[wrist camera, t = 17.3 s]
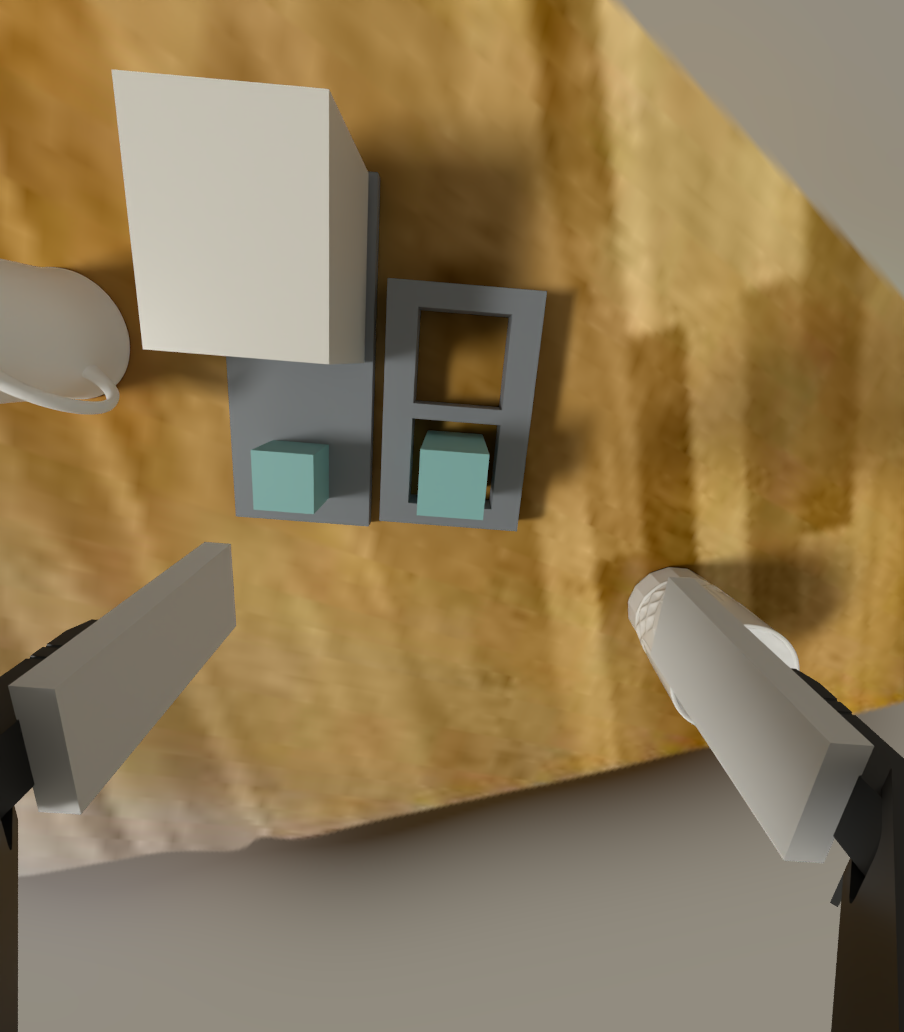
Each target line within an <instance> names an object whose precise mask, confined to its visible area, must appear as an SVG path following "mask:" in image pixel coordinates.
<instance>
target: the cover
mask: <svg viewBox="0 0 904 1032" xmlns="http://www.w3.org/2000/svg"><path fill="white" fill-rule="evenodd" d="M112 77H113V86H114V95H115V104H116V113H117V122H118V131H119V140H120V149H121V158H122V167H123V176H124V185H125V194H126V203H127V212H128V221H129V230H130V239H131V248H132V257H133V266H134V275H135V284H136V292H137V301H138V310H139V319H140V328H141V337H142V346H143V349H146V350H158V351H171V352H183V353H195V354H207V355H220V356H232V357H244V358H256V359H269V360H281V361H293V362H306V363H318V364H353V363H365V317H366V270H367V224H368V177H369V173H368V171H367V169H366V167H365V165H364V162H363V160H362V158H361V156H360V154H359V152H358V150H357V148H356V145H355V143H354V141H353V139H352V137H351V135H350V133H349V131H348V128H347V126H346V124H345V122H344V120H343V118H342V116H341V114H340V111H339V109H338V107H337V105H336V103H335V101H334V99H333V97H332V94H331V92H330V90H329V89H322V88H311V87H300V86H289V85H278V84H267V83H255V82H244V81H233V80H222V79H211V78H200V77H189V76H178V75H167V74H156V73H145V72H134V71H123V70H112Z"/></svg>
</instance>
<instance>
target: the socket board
mask: <svg viewBox="0 0 904 1032" xmlns="http://www.w3.org/2000/svg"><path fill="white" fill-rule="evenodd" d="M546 296H547V291H537V290H526V289H514V288H502V287H490V286H478V285H466V284H454V283H443V282H431V281H419V280H407V279H395V278H388V280H387V309H386V339H385V369H384V398H383V428H382V458H381V488H380V517H379V521H390V522H403V523H416V524H429V525H442V526H455V527H468V528H481V529H494V530H507V531H517V525H518V518H519V510H520V502H521V494H522V486H523V478H524V470H525V462H526V454H527V446H528V438H529V430H530V423H531V415H532V407H533V399H534V391H535V383H536V375H537V367H538V359H539V351H540V343H541V335H542V328H543V320H544V312H545V304H546ZM421 310H424V311H436V312H448V313H460V314H472V315H484V316H496V317H508V318H509V319H508V328H507V338H506V347H505V357H504V366H503V376H502V385H501V395H500V404H499V407H493V406H480V405H468V404H455V403H443V402H430V401H418V400H416V392H417V373H418V354H419V336H420V317H421ZM415 419H428V420H440V421H453V422H466V423H478V424H491V425H497V433H496V442H495V451H494V461H493V470H492V480H491V489H490V499H489V500H485V505H484V515H483V520H473V519H460V518H446V517H433V516H420V515H417V499H418V495H415V494H411V485H412V466H413V447H414V429H415Z"/></svg>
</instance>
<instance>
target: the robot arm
mask: <svg viewBox="0 0 904 1032" xmlns="http://www.w3.org/2000/svg"><path fill="white" fill-rule="evenodd" d="M235 627H236V615H235V601H234V586H233V571H232V557H231V544H224V543H211V542H204V543H203V544H201V545H200V546H199V547H197V548H196V549H195V550H193V551H192V552H190V553H189V554H188V555H186V556H185V557H184V558H182V559H181V560H179V561H178V562H177V563H175V564H174V565H173V566H171V567H170V568H169V569H167V570H166V571H164V572H163V573H162V574H160V575H159V576H158V577H156V578H155V579H153V580H152V581H151V582H149V583H148V584H147V585H145V586H144V587H143V588H141V589H140V590H138V591H137V592H136V593H134V594H133V595H132V596H130V597H129V598H127V599H126V600H125V601H123V602H122V603H121V604H119V605H118V606H117V607H115V608H114V609H112V610H111V611H110V612H108V613H107V614H106V615H104V616H103V617H101V618H100V619H99V620H90V621H87V622H85V623H83V624H80V625H78V626H76V627H74V628H71V629H69V630H67V631H65V632H64V633H62V634H61V635H59V636H58V637H57V638H55V639H54V640H52V641H51V642H49V643H48V644H47V646H46V647H42V648H41V649H39V650H38V651H36V652H35V653H34V654H32V655H31V656H30V659H25V660H24V661H22V662H21V663H19V664H18V665H16V666H15V667H14V668H12V669H11V670H9V671H8V672H6V673H5V674H4V675H2V676H1V677H0V1032H18V818H17V814H16V810H15V806H14V805H15V804H16V803H17V802H18V801H19V800H20V799H21V798H22V797H23V796H24V795H25V794H26V793H27V792H28V791H29V790H30V789H31V788H32V787H33V790H34V794H35V798H36V802H37V806H38V810H39V812H50V813H65V814H82V813H83V811H84V810H85V809H86V808H87V806H88V805H89V804H90V803H91V802H92V800H93V799H94V798H95V797H96V796H97V794H98V793H99V792H100V791H101V789H102V788H103V787H104V786H105V785H106V783H107V782H108V781H109V780H110V778H111V777H112V776H113V775H114V774H115V772H116V771H117V770H118V769H119V768H120V766H121V765H122V764H123V763H124V761H125V760H126V759H127V758H128V757H129V755H130V754H131V753H132V752H133V751H134V749H135V748H136V747H137V746H138V744H139V743H140V742H141V741H142V740H143V738H144V737H145V736H146V735H147V734H148V732H149V731H150V730H151V729H152V727H153V726H154V725H155V724H156V723H157V721H158V720H159V719H160V718H161V716H162V715H163V714H164V713H165V712H166V710H167V709H168V708H169V707H170V706H171V704H172V703H173V702H174V701H175V699H176V698H177V697H178V696H179V695H180V693H181V692H182V691H183V690H184V689H185V687H186V686H187V685H188V684H189V682H190V681H191V680H192V679H193V678H194V676H195V675H196V674H197V673H198V671H199V670H200V669H201V668H202V667H203V665H204V664H205V663H206V662H207V661H208V659H209V658H210V657H211V656H212V654H213V653H214V652H215V651H216V650H217V648H218V647H219V646H220V645H221V644H222V642H223V641H224V640H225V639H226V637H227V636H228V635H229V634H230V633H231V631H232V630H233V629H234V628H235ZM650 656H651V658H652V659H653V661H654V662H655V664H656V665H657V667H658V669H659V670H660V672H661V673H662V675H663V676H664V678H665V679H666V681H667V682H668V684H669V685H670V687H671V688H672V690H673V692H674V693H675V695H676V696H677V698H678V699H679V701H680V702H681V704H682V705H683V707H684V708H685V710H686V711H687V713H688V714H689V716H690V718H691V719H692V721H693V722H694V724H695V725H696V727H697V728H698V730H699V731H700V733H701V734H702V736H703V737H704V739H705V741H706V742H707V744H708V745H709V747H710V748H711V750H712V751H713V753H714V754H715V756H716V757H717V759H718V760H719V762H720V764H721V765H722V767H723V768H724V770H725V771H726V773H727V774H728V776H729V777H730V779H731V780H732V782H733V783H734V785H735V787H736V788H737V790H738V791H739V793H740V794H741V796H742V797H743V799H744V800H745V802H746V803H747V805H748V806H749V808H750V810H751V811H752V813H753V814H754V816H755V817H756V819H757V820H758V822H759V823H760V825H761V826H762V828H763V829H764V831H765V832H766V834H767V835H768V837H769V839H770V840H771V842H772V843H773V845H774V846H775V848H776V849H777V851H778V852H779V854H780V855H781V857H782V859H783V860H785V861H799V862H815V863H824V861H825V859H826V856H827V854H828V852H829V850H830V848H831V845H832V843H833V840H834V838H835V839H836V840H837V842H838V843H839V844H840V845H841V847H842V848H843V849H844V850H845V851H846V853H847V854H848V856H849V857H850V860H849V862H848V864H847V866H846V869H845V871H844V873H843V875H842V878H841V880H840V882H839V884H838V886H837V889H836V891H835V893H834V895H833V897H832V900H831V902H830V903H832V904H833V905H835V906H837V907H838V905H839V904H840V902H841V913H840V925H839V940H838V951H837V963H836V977H835V989H834V1002H833V1015H832V1029H831V1032H904V758H903V757H901V756H900V755H899V754H898V753H897V752H896V751H895V750H893V748H891V747H890V746H889V745H888V744H887V743H886V742H884V740H882V739H881V738H880V737H879V736H878V735H877V734H876V733H875V732H873V731H872V730H871V729H870V728H869V727H868V726H867V725H866V724H865V723H863V722H862V721H861V720H860V719H859V718H858V717H857V716H856V715H852V712H851V711H850V710H849V709H848V708H847V707H846V706H844V705H843V704H842V703H841V702H837V698H835V697H834V696H833V695H832V694H831V693H830V692H829V691H828V690H827V689H825V688H824V687H823V686H822V685H821V684H820V683H818V682H817V681H815V680H813V679H812V678H810V677H808V676H807V675H805V674H803V673H802V672H800V671H799V670H797V669H793V668H790V667H789V666H787V665H786V664H785V663H784V662H783V661H782V660H781V659H780V658H779V657H778V656H777V655H776V654H775V653H773V652H772V651H771V650H770V649H769V648H768V647H767V646H766V645H765V644H764V643H763V642H762V641H760V640H759V639H758V638H757V637H756V636H755V635H754V634H753V633H752V632H751V631H750V630H749V629H748V628H746V627H745V626H744V625H743V624H742V623H741V622H740V621H739V620H738V619H737V618H736V617H735V616H734V615H732V614H731V613H730V612H729V611H728V610H727V609H726V608H725V607H724V606H723V605H722V604H721V603H719V602H718V601H717V600H716V599H715V598H714V597H713V596H712V595H711V594H710V593H709V592H708V591H707V590H705V589H704V588H703V587H702V586H701V585H700V584H699V583H698V582H697V581H696V580H695V579H692V578H678V577H668V581H667V586H666V590H665V594H664V598H663V603H662V607H661V611H660V615H659V620H658V624H657V628H656V632H655V636H654V641H653V645H652V649H651V653H650Z"/></svg>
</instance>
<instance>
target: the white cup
mask: <svg viewBox="0 0 904 1032" xmlns="http://www.w3.org/2000/svg"><path fill="white" fill-rule="evenodd" d="M668 577H678V578H692V579H695V580H696V581H697V582H698V583H699V584H700V585H701V586H702V587H703V588H704V589H705V590H707V591H708V592H709V593H710V594H711V595H712V596H713V597H714V598H715V599H716V600H717V601H718V602H719V603H721V604H722V605H723V606H724V607H725V608H726V609H727V610H728V611H729V612H730V613H731V614H732V615H734V616H735V617H736V618H737V619H738V620H739V621H740V622H741V623H742V624H743V625H744V626H745V627H746V628H748V629H749V630H750V631H751V632H752V633H753V634H754V635H755V636H756V637H757V638H758V639H759V640H760V641H762V642H763V643H764V644H765V645H766V646H767V647H768V648H769V649H770V650H771V651H772V652H773V653H775V654H776V655H777V656H778V657H779V658H780V659H781V660H782V661H783V662H784V663H785V664H786V665H787V666H789V667H790V668H793V669H797V670H799V660H798V657H797V654H796V652H795V650H794V648H793V646H792V645H791V643H790V642H789V641H788V640H787V639H786V638H785V637H784V636H782V635H781V634H780V633H778V632H777V631H776V630H774V629H773V628H772V627H770V626H769V625H768V624H766V623H765V622H764V621H762V620H761V619H760V618H759V617H757V616H756V615H755V614H753V613H752V612H751V611H749V610H748V609H747V608H746V607H744V606H743V605H742V604H740V603H739V602H737V601H736V600H734V599H733V598H732V597H730V596H729V595H728V594H726V593H725V592H723V591H722V590H721V589H719V588H718V587H716V586H715V585H713V584H710V583H709V582H708V581H707V580H705V579H704V578H703V577H701V576H699V575H698V574H696V573H694V572H692V571H691V570H689V569H687V568H674V567H667V568H664V569H661V570H658V571H655V572H652V573H650V574H648V575H647V576H646V577H645V578H644V579H643V580H641V581H640V582H639V583H638V584H637V585H636V586H635V588H634V590H633V592H632V594H631V596H630V598H629V600H628V618H629V620H630V622H631V624H632V625H633V627H634V629H635V630H636V632H637V634H638V636H639V639H640V643H641V645H642V647H643V649H644V651H645V653H646V655H647V656H648V658H649V660H650V662H651V664H652V666H653V668H654V670H655V671H656V673H657V675H658V677H659V679H660V680H661V682H662V684H663V686H664V687H665V689H666V691H667V693H668V695H669V696H670V698H671V700H672V702H673V704H674V706H675V707H676V709H677V710H678V712H679V713H680V714H681V715H682V716H683V717H684V718H685V719H686V720H687V721H689V722H690V723H692V724H694V722H693V721H692V719H691V718H690V716H689V714H688V713H687V711H686V710H685V708H684V707H683V705H682V704H681V702H680V701H679V699H678V698H677V696H676V695H675V693H674V692H673V690H672V688H671V687H670V685H669V684H668V682H667V681H666V679H665V678H664V676H663V675H662V673H661V672H660V670H659V669H658V667H657V665H656V664H655V662H654V661H653V659H652V658H651V656H650V653H651V649H652V645H653V641H654V636H655V632H656V628H657V624H658V620H659V615H660V611H661V607H662V603H663V598H664V594H665V590H666V586H667V581H668ZM694 725H695V724H694ZM695 726H696V725H695Z"/></svg>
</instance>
